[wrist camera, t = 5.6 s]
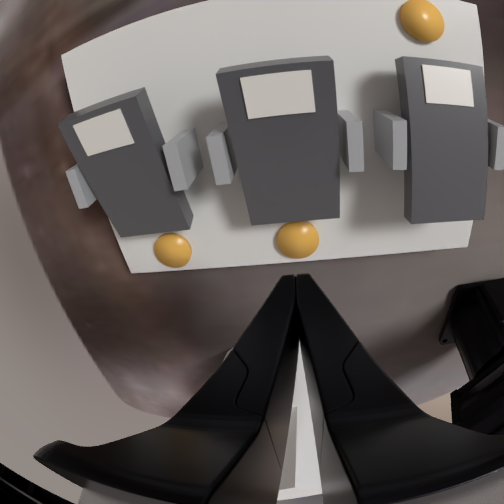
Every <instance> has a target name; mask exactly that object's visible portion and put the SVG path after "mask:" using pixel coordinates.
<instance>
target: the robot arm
mask: <svg viewBox="0 0 504 504" xmlns="http://www.w3.org/2000/svg"><path fill="white" fill-rule="evenodd" d="M299 339H300V348H301V355H302V361H303V367H304V373H305V379H306V385H307V391H308V397H309V404H310V410H311V417H312V423H313V430H314V437H315V444H316V451H317V458H318V465H319V470H320V480H321V487H322V495H323V503H324V504H504V278H503V279H497V280H491V281H485V282H478V283H472V284H465V285H460V286H458V287H457V288H456V290H455V293H454V296H453V299H452V302H451V305H450V309H449V312H448V314H447V317H446V320H445V323H444V326H443V329H442V331H441V334H440V337H439V342H440V344H441V345H444V344H449V343H454V342H455V343H456V346H457V348H458V351H459V353H460V356H461V358H462V361H463V364H464V366H465V369H466V372H467V375H468V377H469V380H470V381H469V382H468V383H466V384H465V385H464V386H462V387H461V388H459V389H458V390H457V389H456V390H455V391H453V392H452V393H451V394H450V395H451V411H452V423H448V422H446V421H443V420H440V419H437V418H435V417H432V416H430V415H428V414H427V413H425V412H423V411H422V410H421V409H420V408H418V407H417V406H416V405H415V404H414V403H413V402H412V401H411V400H410V399H409V397H408V396H407V395H406V394H405V393H404V392H403V391H402V390H401V389H400V388H399V387H398V386H397V385H396V384H395V383H394V382H393V381H392V380H391V379H390V378H389V377H388V375H387V374H386V373H385V372H384V371H383V370H382V369H381V368H380V367H379V365H378V364H377V363H376V362H375V361H374V359H373V358H372V357H371V356H370V354H369V353H368V352H367V350H366V349H365V348H364V346H363V345H362V344H361V342H359V340H358V338H357V337H356V335H355V334H354V333H353V331H352V330H351V329H350V327H349V326H348V325H347V323H346V322H345V320H344V319H343V318H342V316H341V315H340V314H339V312H338V311H337V310H336V308H335V307H334V306H333V304H332V303H331V302H330V300H329V299H328V298H327V296H326V295H325V294H324V292H323V291H322V290H321V288H320V287H319V286H318V284H317V283H316V282H315V280H314V279H313V278H312V276H311V275H310V274H308V273H307V274H297V275H296V276H295V275H283V276H281V278H280V279H279V281H278V282H277V284H276V285H275V287H274V288H273V290H272V291H271V293H270V294H269V296H268V297H267V299H266V300H265V302H264V303H263V305H262V306H261V308H260V309H259V311H258V312H257V314H256V315H255V316H254V318H253V319H252V321H251V322H250V324H249V325H248V327H247V328H246V330H245V331H244V333H243V334H242V336H241V337H240V338H239V340H238V341H237V343H236V344H235V346H234V347H233V350H231V351H230V353H229V354H228V356H227V357H226V358H225V360H224V361H223V362H222V364H221V365H220V366H219V368H218V369H217V370H216V372H215V373H214V374H213V375H212V376H211V377H210V379H209V380H208V381H207V382H206V383H205V384H204V385H203V386H202V387H201V389H200V390H199V391H198V392H197V393H196V394H195V395H194V396H193V397H192V398H191V399H190V400H189V401H188V402H187V403H186V404H185V405H184V406H183V408H182V409H181V410H180V411H179V412H178V413H177V414H176V415H175V416H174V417H172V418H171V419H170V420H169V421H167V422H166V423H164V424H162V425H161V426H159V427H156V428H153V429H151V430H148V431H145V432H142V433H139V434H136V435H133V436H130V437H126V438H124V439H120V440H117V441H114V442H110V443H107V444H104V445H99V446H92V447H83V446H77V445H74V444H71V443H68V442H64V441H60V440H58V441H55V442H52V443H50V444H47V445H45V446H43V447H42V448H40V449H39V450H38V451H37V452H36V453H35V454H34V455H33V457H34V458H35V459H36V460H37V461H38V462H40V463H41V464H43V465H44V466H46V467H47V468H49V469H51V470H52V471H54V472H55V473H57V474H59V475H60V476H62V477H64V478H66V479H67V480H70V481H71V482H73V483H75V484H77V485H79V486H80V487H82V488H83V489H82V493H81V496H80V499H79V503H78V504H276V503H277V498H278V493H279V487H280V481H281V476H282V469H283V463H284V457H285V451H286V445H287V438H288V431H289V424H290V417H291V410H292V403H293V395H294V387H295V379H296V371H297V362H298V353H299ZM0 504H74V503H72V502H70V501H68V500H65V499H63V498H61V497H59V496H57V495H55V494H53V493H51V492H49V491H47V490H45V489H43V488H41V487H40V486H38V485H36V484H34V483H32V482H30V481H29V480H27V479H25V478H23V477H22V476H20V475H18V474H17V473H15V472H14V471H12V470H10V469H9V468H7V467H6V466H4V465H3V464H1V463H0Z"/></svg>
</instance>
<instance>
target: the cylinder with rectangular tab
mask: <svg viewBox="0 0 504 504" xmlns="http://www.w3.org/2000/svg"><path fill="white" fill-rule="evenodd" d="M231 350H233V347H232V348H231V349H230V350H229V351H228V352H227V354H226V356H225V358H226V357H227V356H228V354H229V353H230V351H231ZM225 358H224V360H225ZM316 494H322V487H321V480H320V470H319V465H318V458H317V451H316V444H315V437H314V430H313V423H312V417H311V410H310V404H309V397H308V391H307V385H306V379H305V373H304V367H303V361H302V355H301V348H300V341H299V353H298V362H297V371H296V379H295V387H294V395H293V403H292V410H291V417H290V424H289V431H288V438H287V445H286V451H285V457H284V463H283V469H282V476H281V481H280V487H279V493H278V498H277V500H285V499H292V498H298V497H305V496H311V495H316Z"/></svg>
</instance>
